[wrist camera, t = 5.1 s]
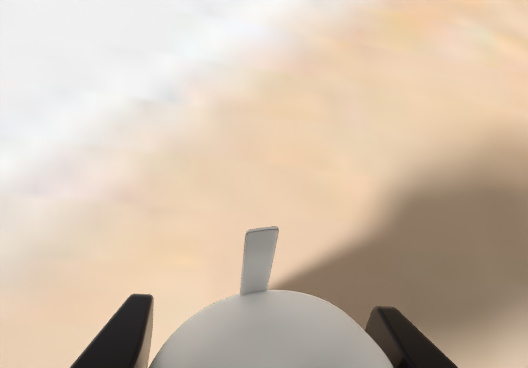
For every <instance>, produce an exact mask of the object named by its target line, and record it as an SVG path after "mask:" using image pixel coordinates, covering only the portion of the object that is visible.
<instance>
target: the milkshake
mask: <svg viewBox="0 0 528 368" xmlns="http://www.w3.org/2000/svg"><path fill="white" fill-rule="evenodd" d="M278 232H279V228H278V227H276V226H272V227H264V228H256V229H250V230H248V231H247V232H246V235H245V243H244V254H243V265H242V276H241V286H240V294H238V295H234V296H231V297H228V298H225V299H223V300H220V301H218V302H216V303H213V304H211V305H209V306H208V307H206V308H204V309H202V310H201V311H199V312H198V313H196V314H195V315H193V316H192V317H191V318H189V319H188V320H187V321H186V322H184V323H183V324H182V325H181V326H180V327H179V328H178V329H177V330H176V331H175V332H174V333H173V334H172V335H171V336H170V338H169V339H168V340H167V341H166V342H165V344H164V345H163V346H162V348H161V349H160V350H159V352H158V353H157V355H156V356H155V358H154V360H153V361H152V363H151V365H150V366H149V368H393V366H392V364H391V362H390V361H389V359H388V358H387V356H386V355H385V353H384V352H383V351H382V349H381V348H380V347H379V346H378V345H377V343H376V342H375V341H374V340H373V339H372V338H371V337H370V336H369V335H368V334H367V333H366V332H365V331H364V330H363V329H362V328H361V327H360V326H359V325H358V324H357V323H356V322H355V321H354V320H353V319H352V318H351V317H350V316H348V315H347V314H346V313H345V312H343V311H342V310H341V309H339V308H338V307H336V306H335V305H333V304H331V303H330V302H328V301H325V300H323V299H321V298H318V297H316V296H313V295H309V294H306V293H301V292H296V291H289V290H267V288H268V283H269V278H270V273H271V268H272V263H273V258H274V253H275V248H276V243H277V238H278Z"/></svg>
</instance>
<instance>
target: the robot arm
mask: <svg viewBox="0 0 528 368" xmlns="http://www.w3.org/2000/svg"><path fill="white" fill-rule="evenodd" d="M152 327H153V296H152V295H150V294H132V295H131V296H129V298H128V299H127V300H126V301H125V302H124V304H123V305H122V306H121V307H120V308H119V309H118V311H117V312H116V313H115V314H114V315H113V317H112V318H111V319H110V320H109V321H108V323H107V324H106V325H105V326H104V327H103V329H102V330H101V331H100V332H99V333H98V335H97V336H96V337H95V338H94V339H93V341H92V342H91V343H90V344H89V345H88V347H87V348H86V349H85V350H84V351H83V353H82V354H81V355H80V356H79V357H78V359H77V360H76V361H75V362H74V363H73V365H72V366H71V367H70V368H147V367H148V359H149V352H150V344H151V337H152ZM365 332H366V333H367V334H368V335H369V336H370V337H371V338H372V339H373V340H374V341H375V342H376V343H377V345H378V346H379V347H380V348H381V349H382V351H383V352H384V353H385V355H386V356H387V358H388V359H389V361H390V362H391V364H392V366H393V368H458V367H457V366H456V365H455V364H454V363H453V362H452V361H451V360H450V359H449V358H448V357H446V356H445V355H444V354H443V353H442V352H441V351H440V350H439V349H438V348H437V347H436V346H435V345H434V344H433V343H432V342H431V341H430V340H429V339H428V338H427V337H425V336H424V335H423V334H422V333H421V332H420V331H419V330H418V329H417V328H416V327H415V326H414V325H413V324H412V323H411V322H410V321H409V320H408V319H407V318H406V317H404V316H403V315H402V314H401V313H400V312H399V311H398V310H397V309H396V308H394V307H385V306H376V307H375V308H374V309H373V310H372V312H371V315H370V318H369V320H368V323H367V326H366V329H365Z"/></svg>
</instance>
